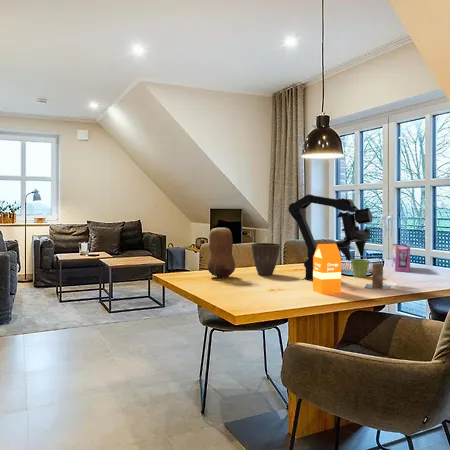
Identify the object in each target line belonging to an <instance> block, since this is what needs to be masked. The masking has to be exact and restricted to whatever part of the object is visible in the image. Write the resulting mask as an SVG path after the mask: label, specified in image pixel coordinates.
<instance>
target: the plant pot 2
mask: <svg viewBox="0 0 450 450" xmlns="http://www.w3.org/2000/svg"><path fill="white" fill-rule="evenodd" d="M370 261H371V260H370V259H360V258H355V259H354V258H353V259H351V260H350V261H349V262H351V265H352V266H351V267H352V274H353V278H358V279H359V278H360V279H361V278H367V274H368V269H369V268H368V267H369V264H370V263H371V262H370Z"/></svg>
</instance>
